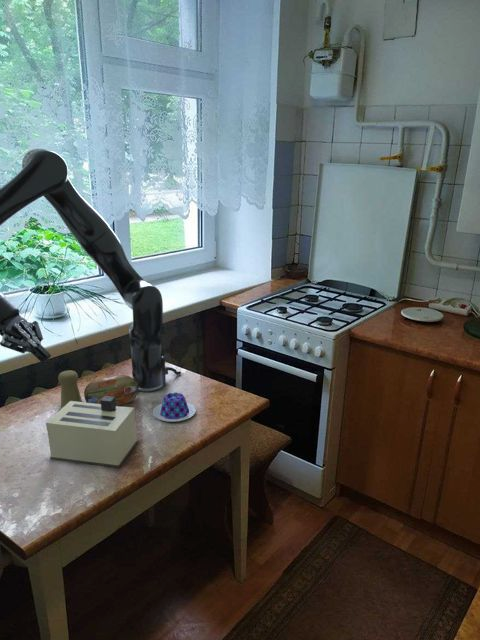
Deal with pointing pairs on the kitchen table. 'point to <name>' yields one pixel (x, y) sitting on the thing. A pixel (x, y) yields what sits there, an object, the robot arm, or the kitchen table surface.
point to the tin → (112, 390)
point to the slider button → (108, 403)
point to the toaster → (92, 434)
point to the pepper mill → (69, 387)
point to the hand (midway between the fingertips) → (47, 359)
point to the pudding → (174, 408)
